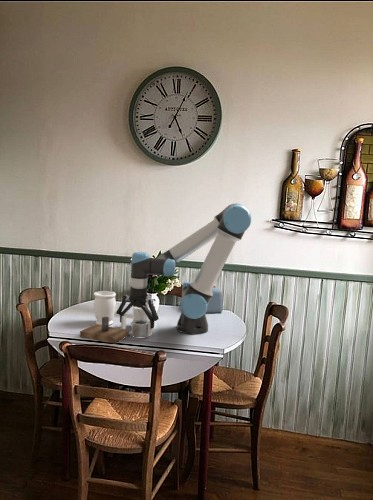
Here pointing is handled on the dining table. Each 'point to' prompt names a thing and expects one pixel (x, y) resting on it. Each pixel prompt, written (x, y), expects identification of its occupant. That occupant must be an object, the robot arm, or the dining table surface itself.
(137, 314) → the cup
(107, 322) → the post block
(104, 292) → the jar
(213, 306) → the toaster
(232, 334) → the dining table surface
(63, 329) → the dining table surface
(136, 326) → the hub
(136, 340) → the dining table surface
